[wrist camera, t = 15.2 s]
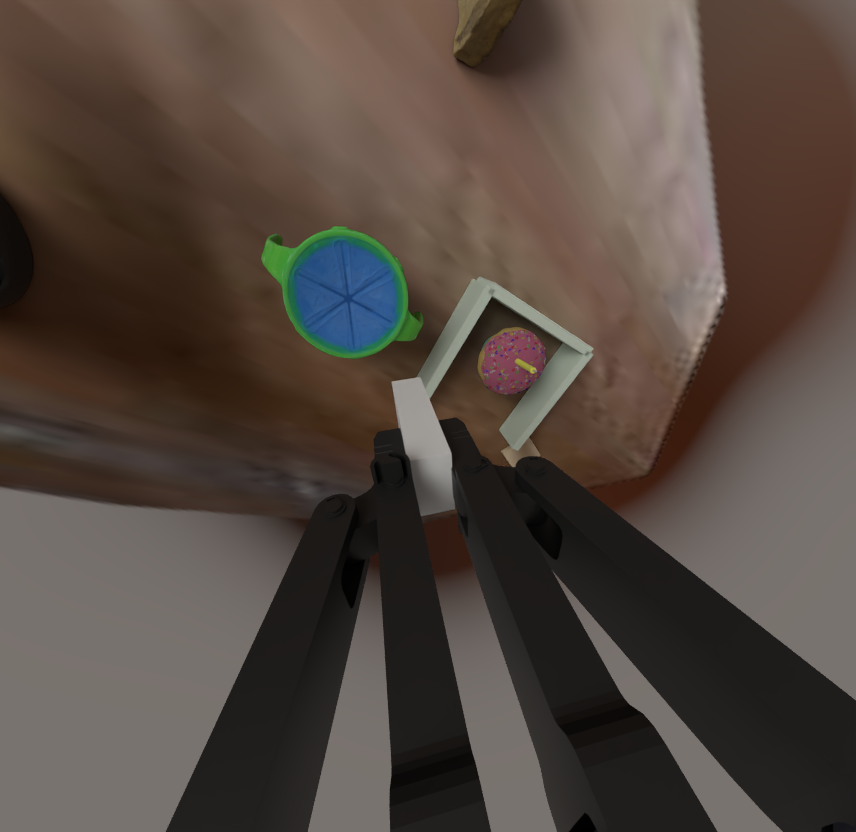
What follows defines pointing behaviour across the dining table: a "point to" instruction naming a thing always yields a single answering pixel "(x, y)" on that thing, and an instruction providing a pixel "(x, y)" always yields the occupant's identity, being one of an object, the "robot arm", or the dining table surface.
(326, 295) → the snack cup
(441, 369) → the tray
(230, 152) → the dining table surface
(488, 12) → the rock
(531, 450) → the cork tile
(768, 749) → the robot arm
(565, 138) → the dining table surface
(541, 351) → the cupcake
